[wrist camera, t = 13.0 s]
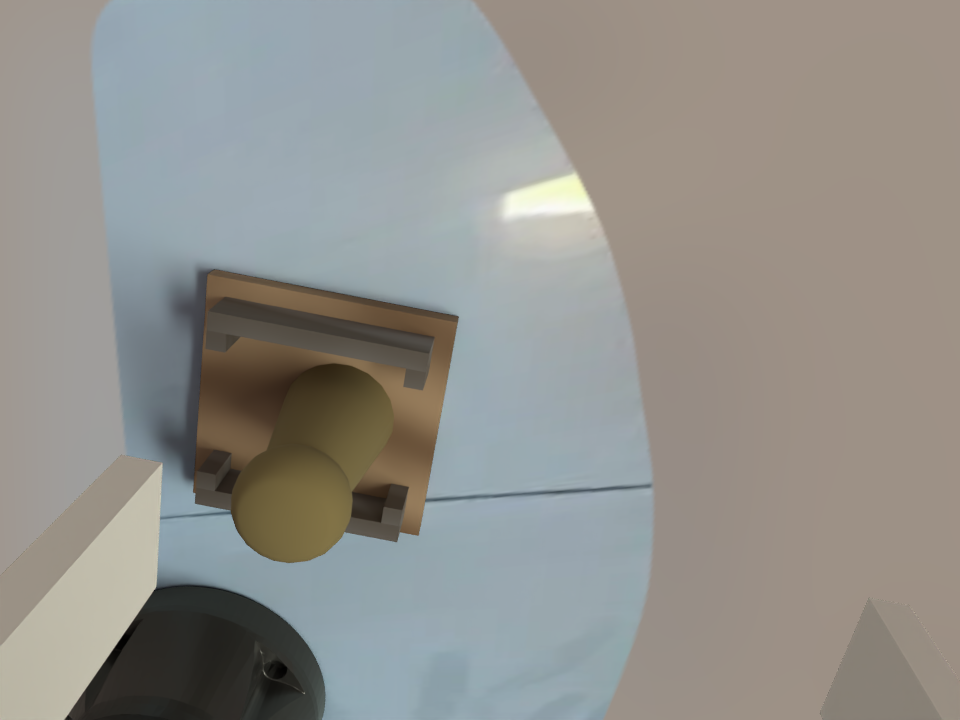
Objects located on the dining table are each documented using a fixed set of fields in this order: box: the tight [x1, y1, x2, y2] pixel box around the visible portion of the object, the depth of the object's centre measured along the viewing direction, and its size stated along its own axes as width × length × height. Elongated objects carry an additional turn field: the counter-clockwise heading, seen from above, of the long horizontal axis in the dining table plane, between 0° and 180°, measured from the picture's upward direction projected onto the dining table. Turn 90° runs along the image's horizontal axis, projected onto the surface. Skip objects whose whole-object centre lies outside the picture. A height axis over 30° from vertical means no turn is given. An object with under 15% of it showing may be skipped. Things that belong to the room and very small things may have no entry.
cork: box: [231, 363, 394, 563], centre depth 40 cm, size 6×6×11 cm
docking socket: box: [193, 269, 459, 542], centre depth 45 cm, size 13×13×4 cm
